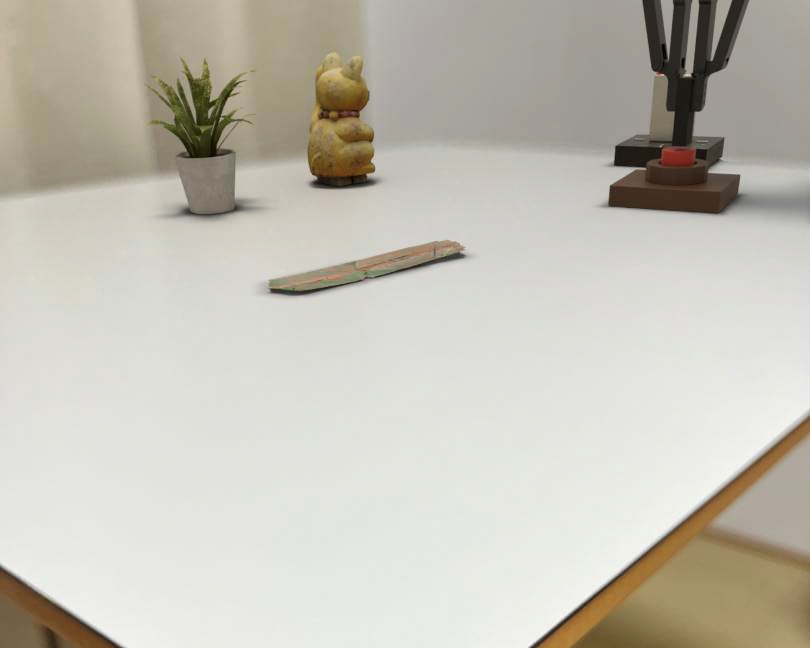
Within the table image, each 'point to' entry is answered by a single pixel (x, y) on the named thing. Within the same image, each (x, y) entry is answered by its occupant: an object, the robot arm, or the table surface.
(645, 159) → the dial panel
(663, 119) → the white upright block
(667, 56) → the robot arm
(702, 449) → the table surface
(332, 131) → the decorative figurine
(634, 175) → the switch block
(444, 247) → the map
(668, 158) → the power button
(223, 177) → the house plant
